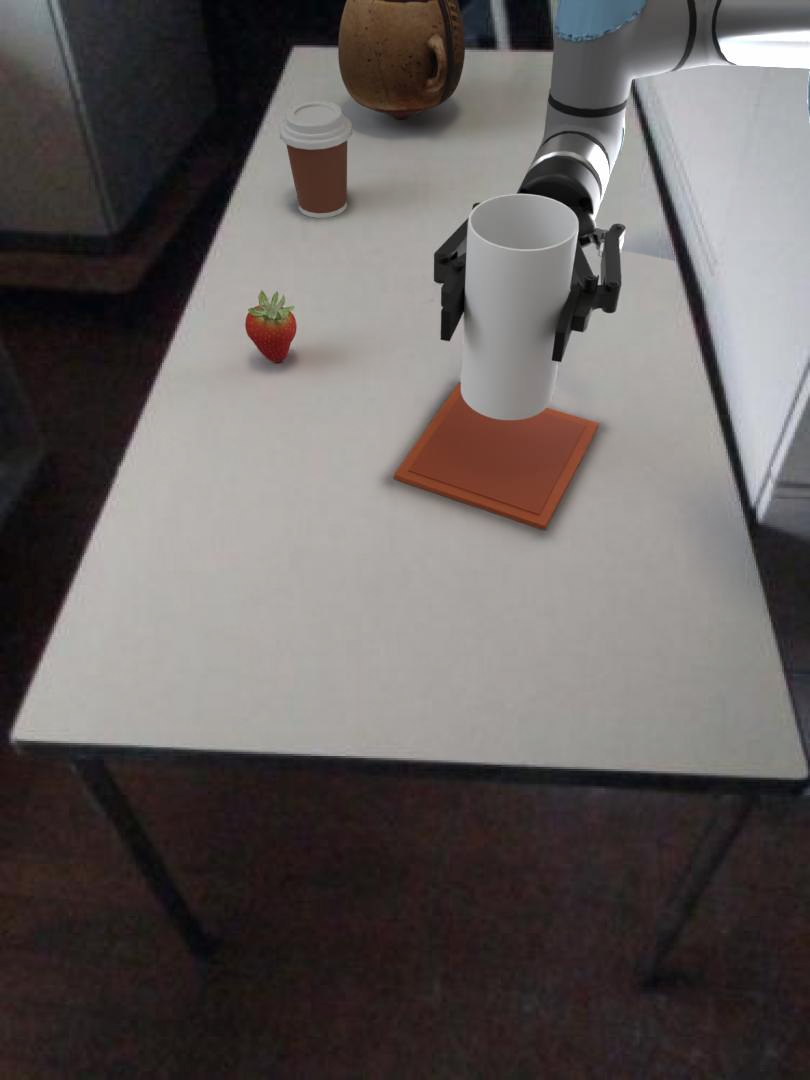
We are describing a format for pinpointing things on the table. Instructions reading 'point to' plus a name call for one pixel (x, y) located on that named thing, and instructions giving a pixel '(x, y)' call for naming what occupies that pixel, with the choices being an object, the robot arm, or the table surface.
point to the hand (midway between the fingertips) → (501, 336)
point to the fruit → (271, 327)
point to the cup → (515, 302)
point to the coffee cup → (318, 156)
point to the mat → (499, 459)
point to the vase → (401, 53)
